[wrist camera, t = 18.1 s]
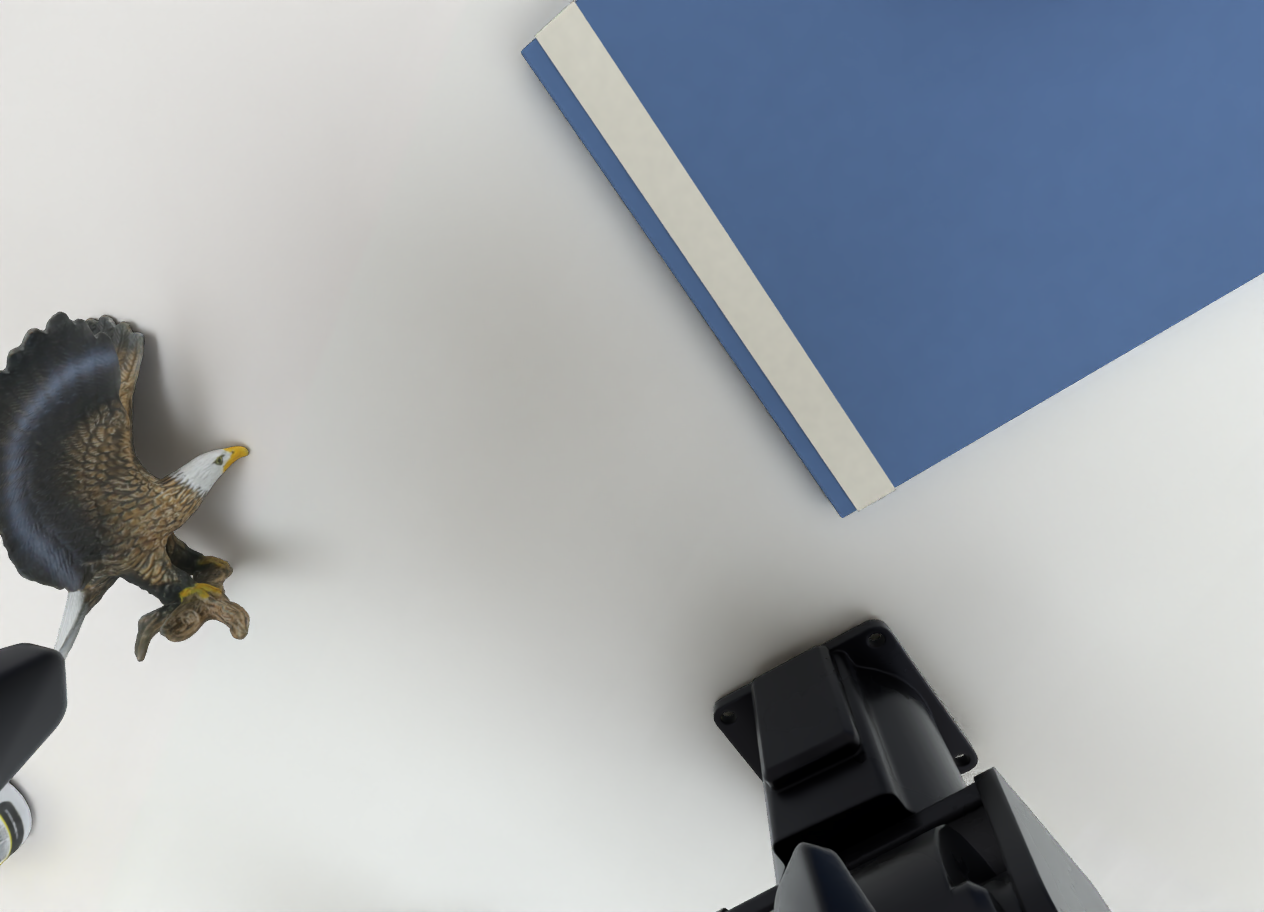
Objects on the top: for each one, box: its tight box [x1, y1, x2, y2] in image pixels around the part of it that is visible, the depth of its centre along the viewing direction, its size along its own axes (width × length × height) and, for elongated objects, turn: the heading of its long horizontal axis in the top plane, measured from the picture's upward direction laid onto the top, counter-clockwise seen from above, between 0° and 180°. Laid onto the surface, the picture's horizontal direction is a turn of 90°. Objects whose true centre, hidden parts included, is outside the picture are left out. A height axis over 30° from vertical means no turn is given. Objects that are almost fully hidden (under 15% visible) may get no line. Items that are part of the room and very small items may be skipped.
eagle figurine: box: [0, 312, 250, 662], centre depth 19 cm, size 8×7×9 cm
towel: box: [521, 0, 1264, 518], centre depth 16 cm, size 15×17×1 cm
